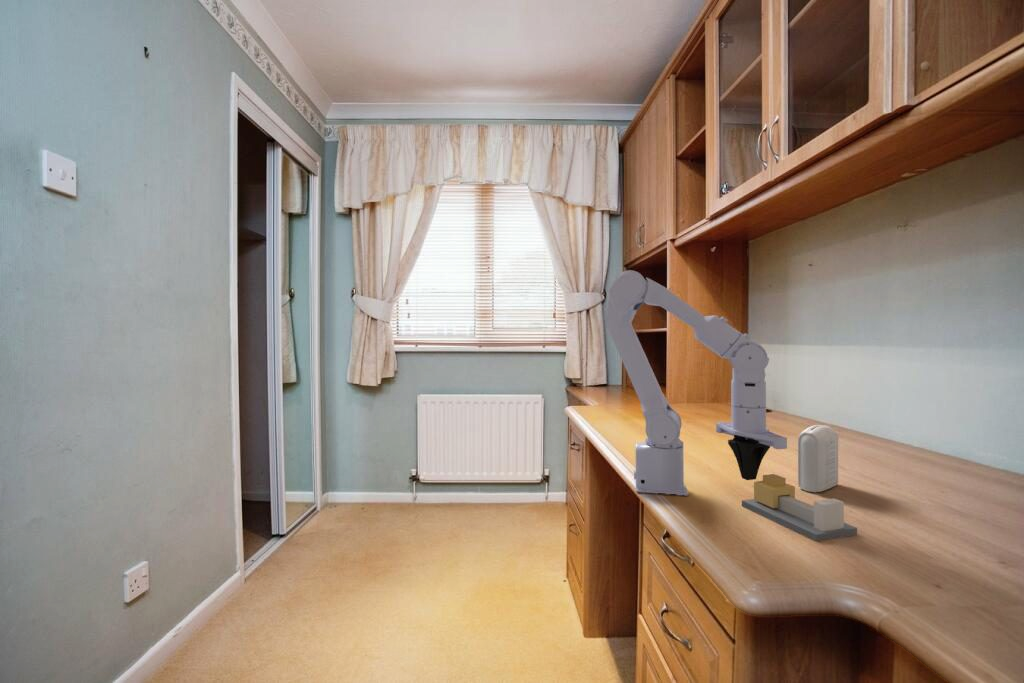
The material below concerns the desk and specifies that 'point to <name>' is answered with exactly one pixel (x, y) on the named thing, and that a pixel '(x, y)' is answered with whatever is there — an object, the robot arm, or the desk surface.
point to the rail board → (797, 522)
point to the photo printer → (818, 458)
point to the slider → (772, 490)
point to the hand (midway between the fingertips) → (748, 478)
